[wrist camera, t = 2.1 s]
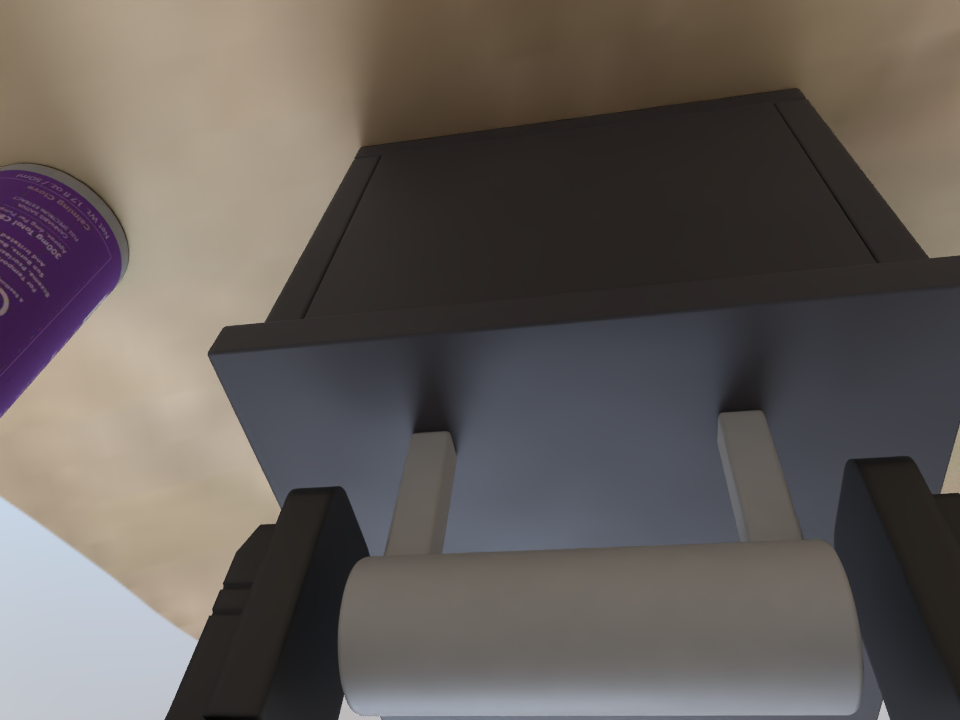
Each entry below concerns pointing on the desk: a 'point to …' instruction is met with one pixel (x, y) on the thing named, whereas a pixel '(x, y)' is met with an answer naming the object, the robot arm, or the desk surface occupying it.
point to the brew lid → (607, 486)
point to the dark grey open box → (594, 209)
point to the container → (50, 267)
